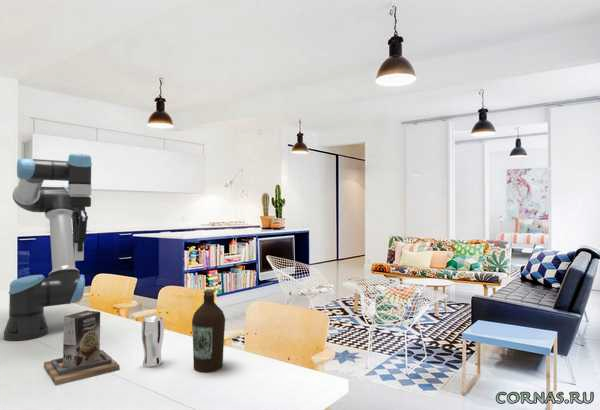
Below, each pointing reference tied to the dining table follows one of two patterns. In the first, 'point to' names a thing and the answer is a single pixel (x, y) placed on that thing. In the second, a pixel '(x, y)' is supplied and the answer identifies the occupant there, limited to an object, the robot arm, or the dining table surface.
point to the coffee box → (81, 339)
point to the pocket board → (79, 369)
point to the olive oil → (208, 335)
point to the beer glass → (152, 340)
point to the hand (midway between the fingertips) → (79, 260)
